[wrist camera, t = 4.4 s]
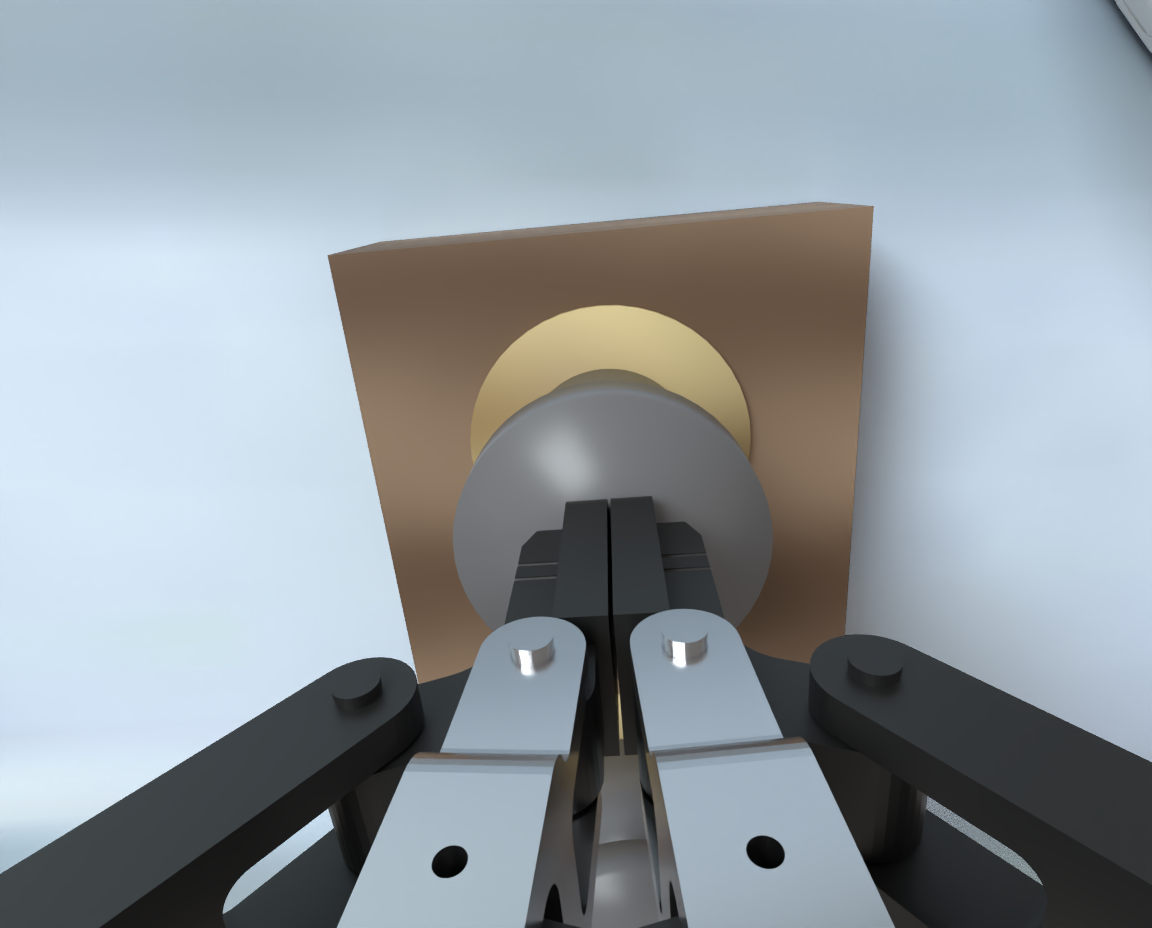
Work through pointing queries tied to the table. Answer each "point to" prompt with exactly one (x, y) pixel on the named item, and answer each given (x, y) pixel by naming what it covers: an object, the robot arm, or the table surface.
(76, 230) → the table surface
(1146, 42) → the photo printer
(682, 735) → the robot arm
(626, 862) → the middle knob
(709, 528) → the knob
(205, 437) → the table surface
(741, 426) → the mount board
